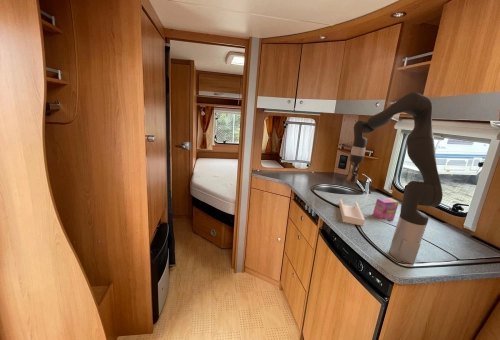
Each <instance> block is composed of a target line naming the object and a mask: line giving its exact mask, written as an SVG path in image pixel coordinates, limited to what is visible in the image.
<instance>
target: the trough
mask: <svg viewBox="0 0 500 340" xmlns="http://www.w3.org/2000/svg"><path fill="white" fill-rule="evenodd" d="M338 204H339V209H340V210H339V211H340V215H341V218H342V219H341V220H342V222H343V223H348V224H351V225H352V224H353V225H358V226H361V227H363V226H364V224H365V222H366V219H365V216H364V214H363V212H362V210H361V208H360V205H359V203H358V202H357V201H355V203H354V206H351V205H346V204H344V202H343V199H342V198H340V199H339V203H338Z"/></svg>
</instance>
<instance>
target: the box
mask: <svg viewBox="0 0 500 340" xmlns="http://www.w3.org/2000/svg"><path fill="white" fill-rule="evenodd" d="M399 204H400V202H399V200H396V199H394V198H392V197H385V198H383V197H382V198H376V201H375V204H374V205H375V206H374V209H373V213H372V215H373V216H374V217H376V218H377V219H380V220H385V219H386V220H387V221H395V216H396V214H397V213H396V212H397V209H398V206H399Z"/></svg>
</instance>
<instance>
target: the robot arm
mask: <svg viewBox="0 0 500 340" xmlns="http://www.w3.org/2000/svg"><path fill="white" fill-rule="evenodd" d="M402 113H405V114H407V115H410V116H412V118H413V121H414V122H413V123H414V125H413V126H414V127H413V129H412V130H411V132H410V133H409V134H408V136H407V138H406V152H407V153H406V154H407V157H408V158H409V160H410V161H411V162H412V163H413V165H414V166H415V167H416V169H417V170H418V171H419V172H420V174H421V177H422V181H418V180H411V181H409V182H407V184H406V186H405V188H404V191H403V196H402V201H401V204H400V205H401V206H400V213H399V217H398V220H397V224H396V227H395V230H394V234H393V237H392V241H391V243H390V247H389V250H388V251H389V252H388V253H389V254H390V256H392V257H393V258H395V260H396V259H397V260H396V261H398V262H402V261H403V263H406V264H407V263H408V264H411V265H415V262H416V260H417V256H418V252H419V250H420V248H421V242H422V241H423V240H422V239H423V236H424V235H425V231H426V228H427V225H428V222H429V217H428V216H427V215H426V213H424V212H421V211H419V210H418V206H422V207H423V206H425V207H433V208H435V207H438V206H439V205H440V204H441V203H442V202H443V201H442V200H443V189H442V188H443V187H442V184H441V179H440V174H439V171H438V165H437V160H436V147H435V140H434V133H433V132H434V129H433V101H432V99H431V98H430V97H428V96H427V95H424V94H421V93H418V92H416V91H415V92H413V91H411V92H409V93H407V94H405V95H404V96H402V97H400V98H399V99H398V100H396V101H395V102H394V103H392V104H391V105H390V106H387V108H385V109H384V110H382V111H381V112H379V113H375V114H374V115H372V116H370V117H369V118H368V119H367V121H366V120H357V121H356V122H355V124H354V125H353V140H354V141H353V144H352V148H351V152H350V156H349V161H350V162H351V163H350V170H349V172H351V173H352V176H351V182H350V183H353V182H354V181H355V177H356V176H357V174H358V173H359V169H360V165H359V164H362V163H363V162H364V158H365V153H366V148H367V143H368V138H366V137H365V136H364V135H363V134H369V133H370V134H371V133H373V132H374V131H375V130H377V129H378V128H380V127H382V126H385V125H386V124H388V123H389V122H390V121H391V120H392V118H393V117H394V116H395V115H397V114H402ZM354 173H355V174H354Z"/></svg>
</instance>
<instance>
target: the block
mask: <svg viewBox="0 0 500 340" xmlns="http://www.w3.org/2000/svg"><path fill="white" fill-rule="evenodd" d="M354 174H355V173H354ZM351 176H352V173H351V172H350V171H349V172H348V174H347V179H346V180H347V182H348V183H354V184H357V183H358V179H359V174H358V173H357V176H356V177H355V181H354V182H351Z"/></svg>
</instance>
